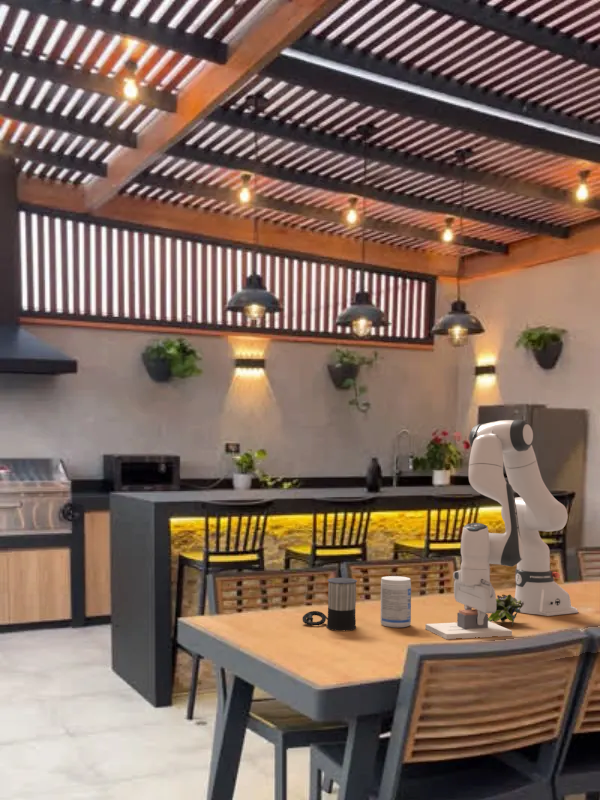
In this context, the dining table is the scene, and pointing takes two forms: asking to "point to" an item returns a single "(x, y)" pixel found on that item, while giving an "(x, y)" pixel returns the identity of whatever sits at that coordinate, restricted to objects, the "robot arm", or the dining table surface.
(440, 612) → the dining table surface
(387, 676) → the dining table surface
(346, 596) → the milk frother
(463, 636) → the board
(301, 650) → the dining table surface
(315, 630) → the dining table surface
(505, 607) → the green leafy plant
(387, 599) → the supplement tub
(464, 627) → the block
